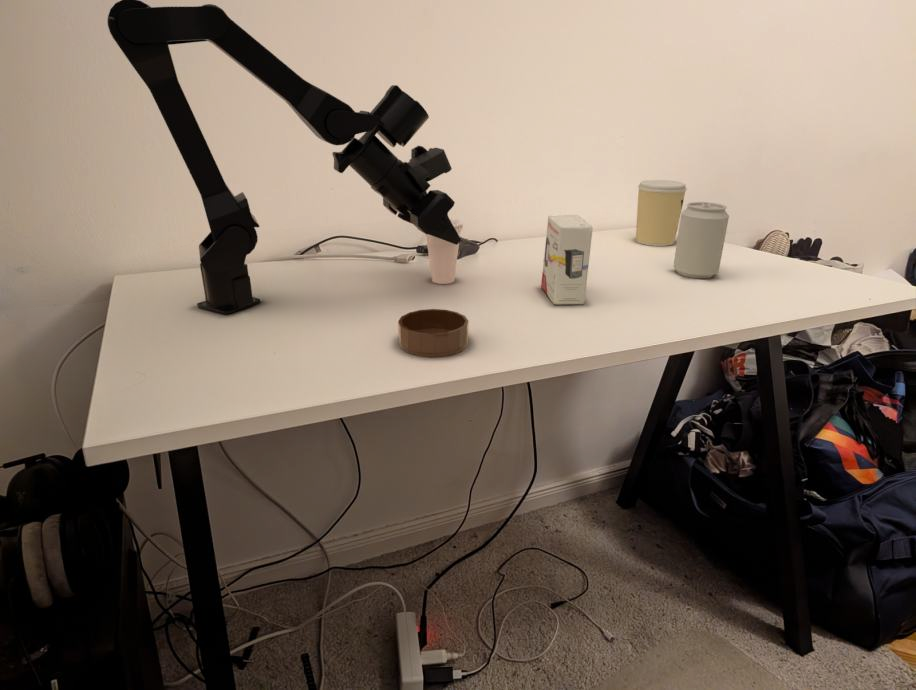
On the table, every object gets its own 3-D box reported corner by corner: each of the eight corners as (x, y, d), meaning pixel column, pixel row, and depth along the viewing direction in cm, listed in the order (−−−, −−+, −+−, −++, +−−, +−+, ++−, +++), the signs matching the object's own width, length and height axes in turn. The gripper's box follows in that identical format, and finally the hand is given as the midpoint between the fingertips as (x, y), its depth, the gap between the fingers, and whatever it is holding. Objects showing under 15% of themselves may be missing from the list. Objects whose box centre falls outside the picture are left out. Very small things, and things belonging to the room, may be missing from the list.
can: (672, 277, 103) (683, 206, 99) (672, 266, 110) (682, 199, 105) (719, 281, 101) (733, 209, 97) (716, 269, 108) (728, 201, 103)
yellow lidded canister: (687, 245, 124) (696, 185, 119) (646, 248, 122) (655, 187, 117) (661, 235, 132) (669, 179, 128) (623, 237, 130) (630, 180, 125)
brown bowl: (385, 347, 75) (384, 324, 74) (424, 325, 82) (423, 304, 81) (444, 362, 71) (444, 339, 70) (479, 338, 78) (480, 316, 77)
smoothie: (425, 274, 104) (424, 191, 98) (463, 275, 104) (464, 192, 98) (422, 286, 98) (420, 198, 92) (461, 286, 98) (462, 198, 92)
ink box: (540, 288, 97) (545, 214, 93) (571, 287, 98) (577, 214, 93) (553, 306, 89) (559, 226, 85) (586, 305, 90) (594, 226, 85)
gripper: (441, 134, 82) (510, 210, 90) (399, 125, 98) (461, 191, 106) (387, 196, 82) (461, 267, 91) (353, 177, 98) (419, 239, 106)
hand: (451, 237), depth 98 cm, fingers closed on smoothie, 6 cm apart
